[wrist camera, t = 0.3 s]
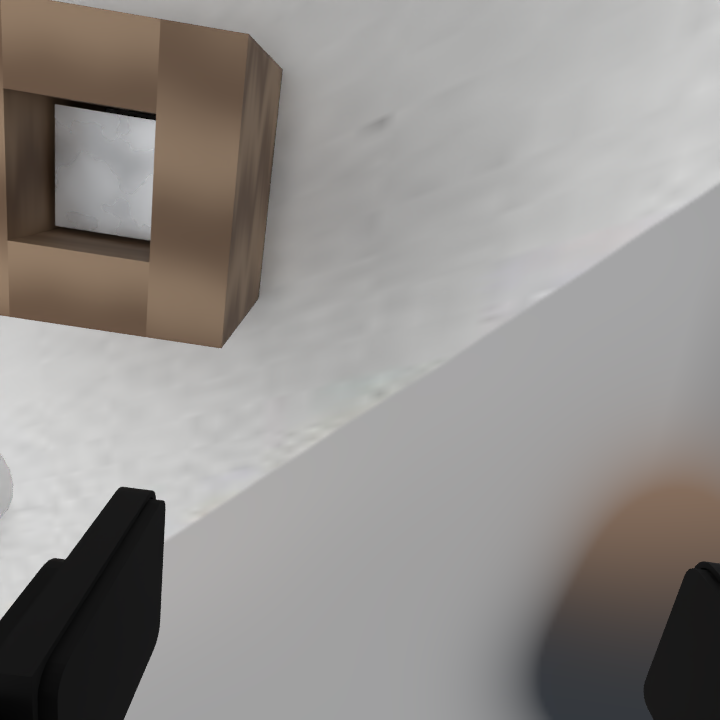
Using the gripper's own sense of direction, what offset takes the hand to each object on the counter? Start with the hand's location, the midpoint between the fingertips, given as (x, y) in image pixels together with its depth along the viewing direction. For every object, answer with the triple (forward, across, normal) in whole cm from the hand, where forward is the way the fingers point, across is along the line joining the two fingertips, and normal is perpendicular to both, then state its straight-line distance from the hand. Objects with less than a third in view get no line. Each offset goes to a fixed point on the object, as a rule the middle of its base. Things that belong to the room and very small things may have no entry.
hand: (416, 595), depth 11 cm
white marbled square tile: (+25, +15, -4) cm, 29 cm away
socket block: (+31, +15, -4) cm, 34 cm away
